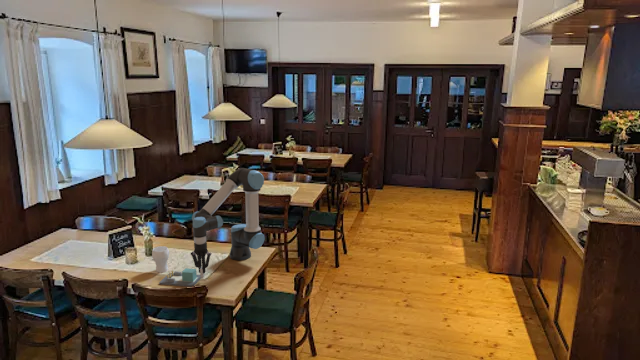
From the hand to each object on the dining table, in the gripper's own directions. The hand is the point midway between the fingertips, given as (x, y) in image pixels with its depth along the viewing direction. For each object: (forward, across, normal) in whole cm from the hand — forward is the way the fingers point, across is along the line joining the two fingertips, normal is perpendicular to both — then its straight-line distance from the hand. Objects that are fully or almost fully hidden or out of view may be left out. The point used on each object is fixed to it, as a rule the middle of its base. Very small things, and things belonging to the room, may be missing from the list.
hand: (202, 277), depth 278 cm
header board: (+3, +14, 0) cm, 15 cm away
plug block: (+2, +9, 0) cm, 9 cm away
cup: (+3, +34, -12) cm, 36 cm away
